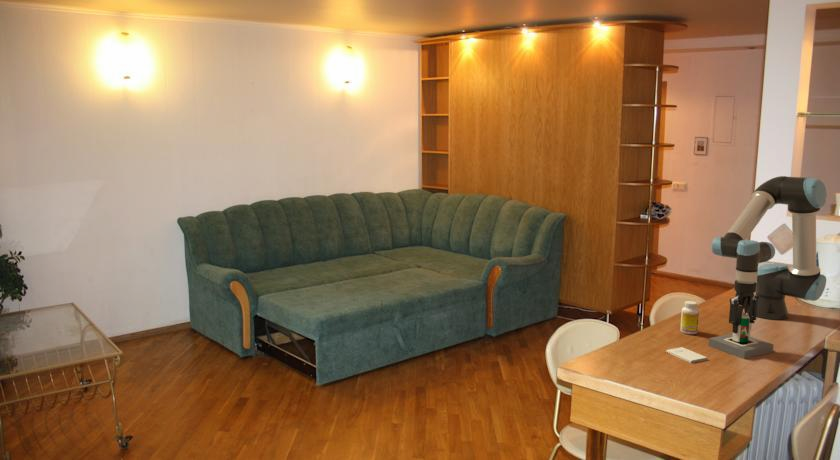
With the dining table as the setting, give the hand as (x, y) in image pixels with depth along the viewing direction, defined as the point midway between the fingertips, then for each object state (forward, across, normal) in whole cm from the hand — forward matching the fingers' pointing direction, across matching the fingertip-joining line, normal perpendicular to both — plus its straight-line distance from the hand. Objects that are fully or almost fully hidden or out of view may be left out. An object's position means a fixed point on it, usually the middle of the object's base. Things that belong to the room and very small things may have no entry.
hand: (741, 339), depth 253 cm
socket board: (+4, 0, 0) cm, 4 cm away
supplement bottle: (+4, +2, -23) cm, 23 cm away
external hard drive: (+4, +24, -4) cm, 25 cm away
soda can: (+2, 0, 0) cm, 2 cm away
